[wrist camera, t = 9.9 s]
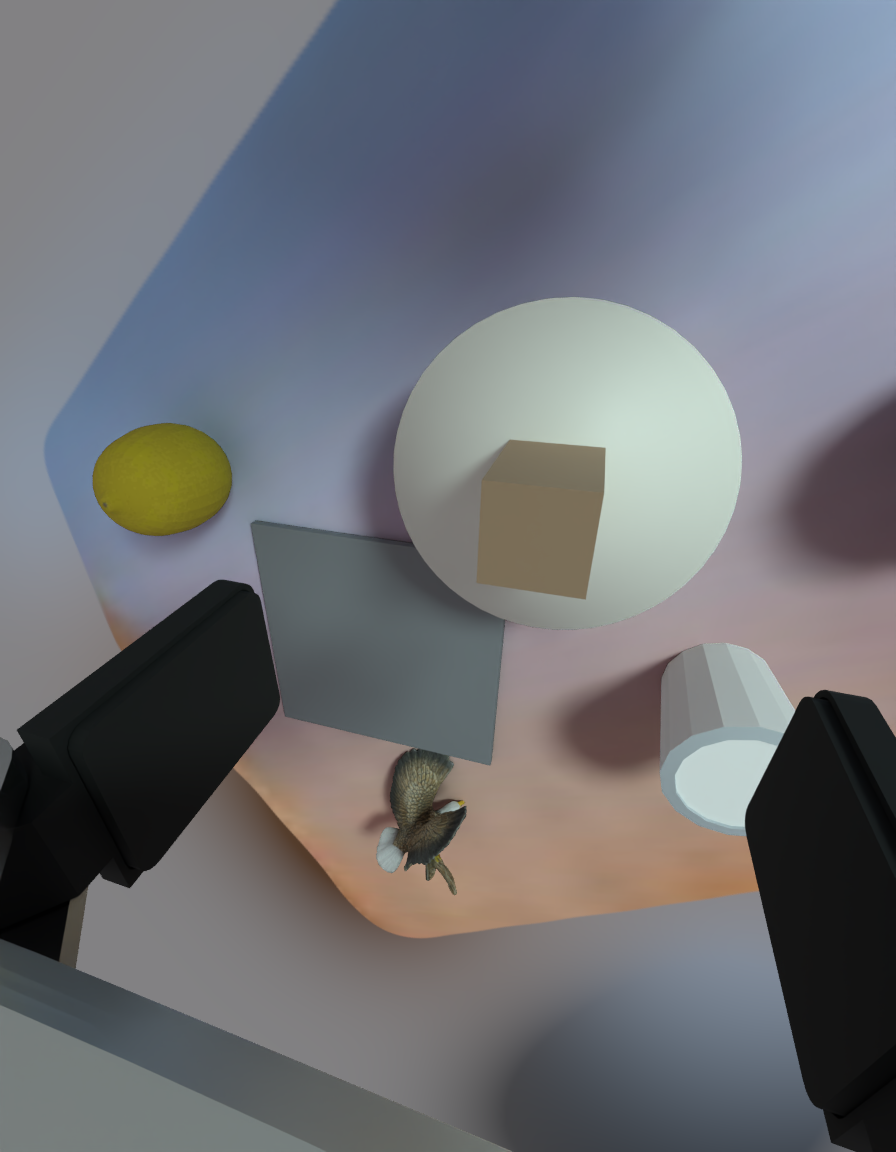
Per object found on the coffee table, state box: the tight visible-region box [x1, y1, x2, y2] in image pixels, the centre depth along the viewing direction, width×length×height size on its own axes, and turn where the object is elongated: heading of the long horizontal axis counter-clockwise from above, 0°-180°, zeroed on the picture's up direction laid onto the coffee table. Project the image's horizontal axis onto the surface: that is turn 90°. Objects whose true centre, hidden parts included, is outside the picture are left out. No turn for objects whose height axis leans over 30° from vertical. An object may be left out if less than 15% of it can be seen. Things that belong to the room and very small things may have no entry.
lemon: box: [93, 423, 232, 536], centre depth 27 cm, size 6×6×8 cm
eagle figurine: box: [376, 749, 467, 895], centre depth 37 cm, size 8×7×9 cm
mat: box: [251, 520, 505, 765], centre depth 34 cm, size 16×16×1 cm
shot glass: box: [660, 643, 795, 836], centre depth 25 cm, size 7×7×7 cm
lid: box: [393, 297, 742, 630], centre depth 18 cm, size 13×13×6 cm
